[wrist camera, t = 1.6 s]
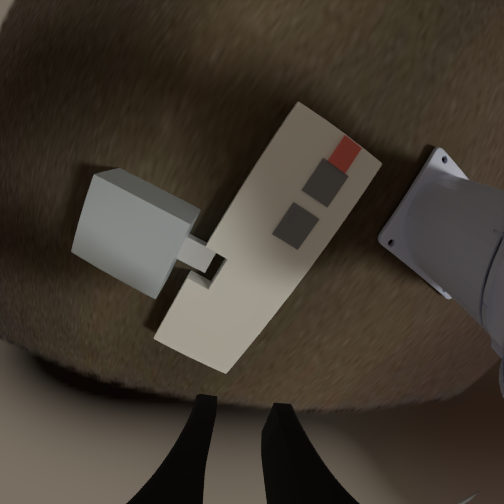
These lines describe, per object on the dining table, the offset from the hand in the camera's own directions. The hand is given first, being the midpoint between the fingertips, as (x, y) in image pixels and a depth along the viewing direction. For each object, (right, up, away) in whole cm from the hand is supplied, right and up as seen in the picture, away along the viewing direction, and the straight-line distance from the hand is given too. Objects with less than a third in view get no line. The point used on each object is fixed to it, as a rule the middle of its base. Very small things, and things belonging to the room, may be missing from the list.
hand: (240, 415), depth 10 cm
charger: (-6, +8, +8) cm, 13 cm away
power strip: (+1, +6, +9) cm, 11 cm away
